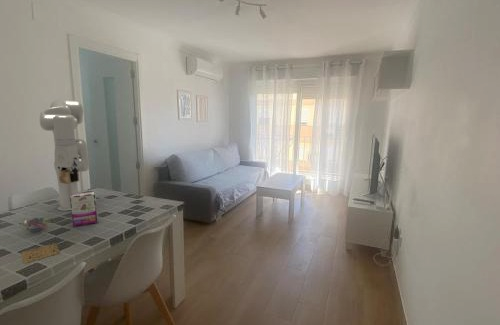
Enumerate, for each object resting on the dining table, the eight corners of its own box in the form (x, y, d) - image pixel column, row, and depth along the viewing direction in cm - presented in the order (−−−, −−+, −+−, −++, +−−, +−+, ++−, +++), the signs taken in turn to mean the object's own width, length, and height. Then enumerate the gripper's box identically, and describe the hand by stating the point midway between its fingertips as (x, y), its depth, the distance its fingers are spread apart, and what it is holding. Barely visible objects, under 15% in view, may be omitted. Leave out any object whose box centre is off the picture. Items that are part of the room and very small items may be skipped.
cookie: (20, 253, 107) (20, 251, 107) (56, 244, 116) (55, 242, 116) (23, 265, 99) (22, 263, 99) (61, 254, 108) (60, 252, 107)
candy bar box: (98, 219, 142) (95, 191, 139) (97, 223, 138) (95, 193, 135) (74, 223, 137) (71, 193, 134) (72, 226, 133) (69, 196, 130)
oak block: (59, 182, 120) (58, 171, 119) (71, 179, 125) (70, 168, 124) (68, 184, 118) (66, 172, 117) (79, 181, 123) (78, 170, 122)
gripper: (44, 142, 117) (48, 180, 120) (71, 144, 112) (75, 184, 115) (60, 140, 124) (64, 176, 127) (86, 143, 119) (90, 180, 122)
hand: (69, 180), depth 121 cm, fingers closed on oak block, 5 cm apart
